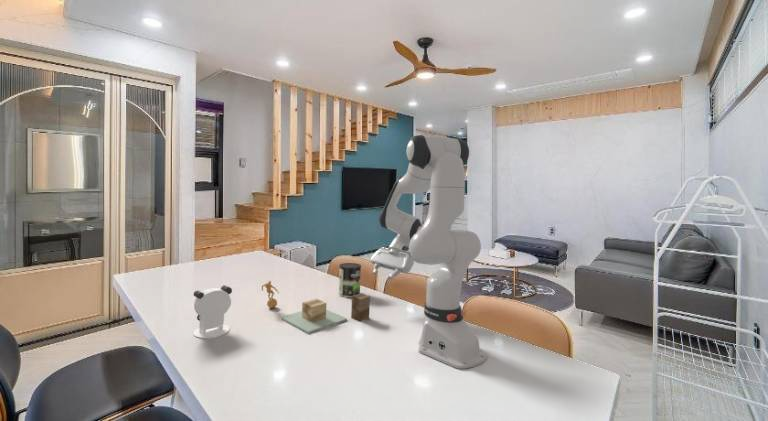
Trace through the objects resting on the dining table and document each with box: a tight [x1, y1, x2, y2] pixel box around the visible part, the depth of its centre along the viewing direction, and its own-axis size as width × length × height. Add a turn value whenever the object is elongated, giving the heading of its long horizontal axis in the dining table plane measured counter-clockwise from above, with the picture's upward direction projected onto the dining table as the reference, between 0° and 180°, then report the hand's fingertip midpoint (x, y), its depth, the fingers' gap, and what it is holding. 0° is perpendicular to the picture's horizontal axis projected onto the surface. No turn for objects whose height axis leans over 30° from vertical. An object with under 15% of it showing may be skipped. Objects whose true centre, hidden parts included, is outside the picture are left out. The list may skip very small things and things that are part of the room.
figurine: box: [261, 280, 280, 309], centre depth 145 cm, size 8×6×12 cm
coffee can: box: [338, 262, 362, 299], centre depth 168 cm, size 10×10×14 cm
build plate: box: [280, 309, 348, 335], centre depth 136 cm, size 18×18×1 cm
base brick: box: [301, 298, 327, 322], centre depth 136 cm, size 6×6×6 cm
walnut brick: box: [350, 292, 371, 323], centre depth 139 cm, size 5×5×9 cm
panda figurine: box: [193, 285, 233, 340], centre depth 122 cm, size 12×11×15 cm
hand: (382, 276), depth 147 cm, fingers open, 8 cm apart
